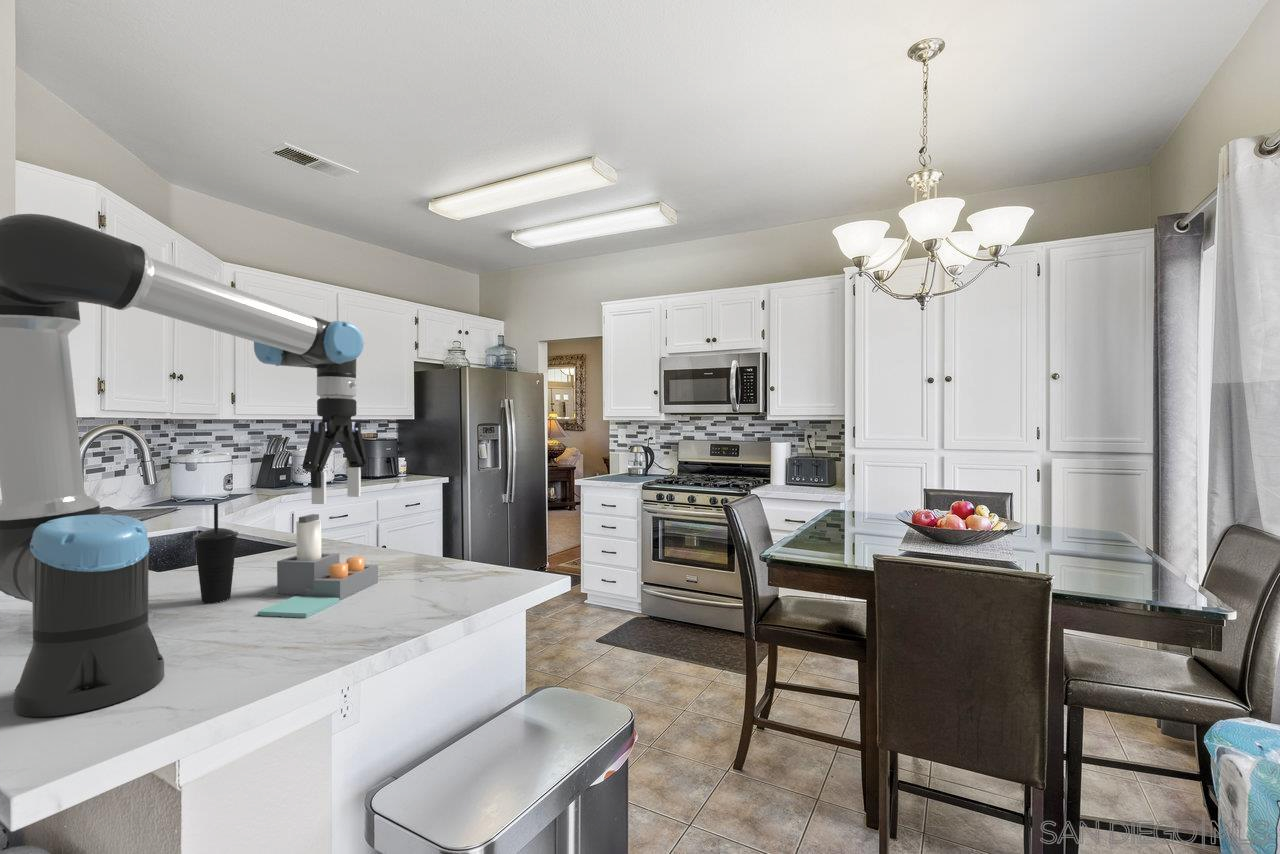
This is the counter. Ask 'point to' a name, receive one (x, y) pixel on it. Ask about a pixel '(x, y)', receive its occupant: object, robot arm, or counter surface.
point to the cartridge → (308, 538)
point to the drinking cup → (215, 561)
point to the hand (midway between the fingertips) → (337, 500)
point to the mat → (299, 606)
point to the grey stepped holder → (321, 578)
